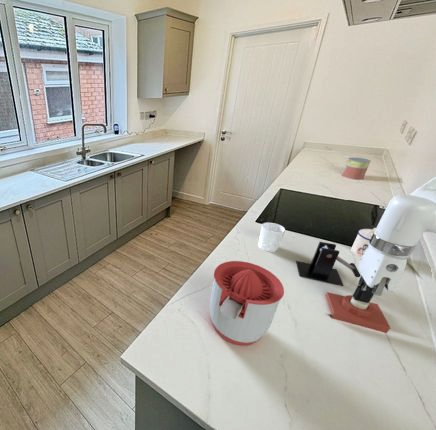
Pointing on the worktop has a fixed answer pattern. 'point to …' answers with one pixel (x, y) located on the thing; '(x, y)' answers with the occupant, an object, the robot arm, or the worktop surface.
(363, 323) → the button housing
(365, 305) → the button
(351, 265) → the lever
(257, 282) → the citrus juicer
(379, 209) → the worktop surface
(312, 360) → the worktop surface
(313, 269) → the bracket
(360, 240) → the teacup with lid
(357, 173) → the canned food
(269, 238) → the white cup
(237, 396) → the worktop surface
